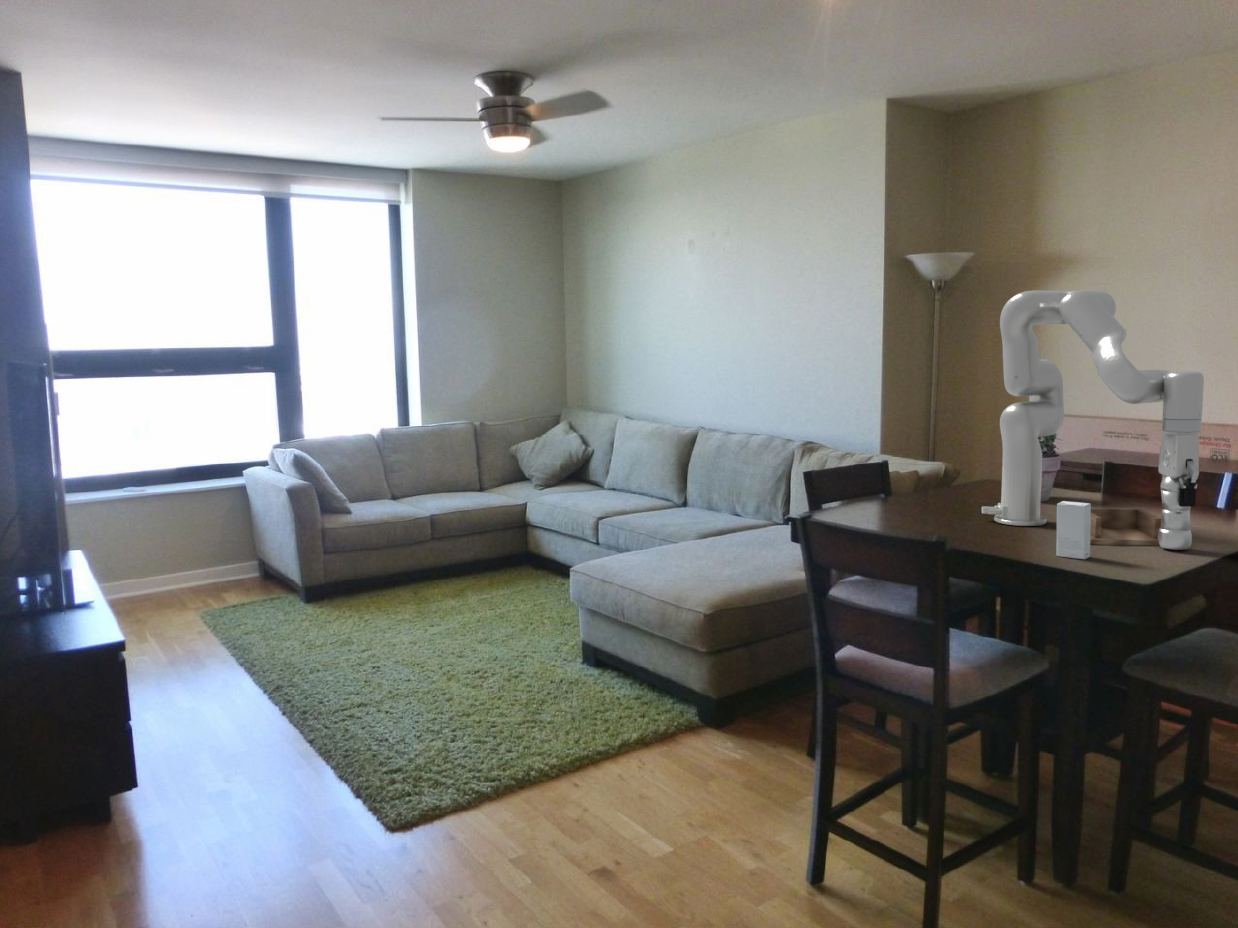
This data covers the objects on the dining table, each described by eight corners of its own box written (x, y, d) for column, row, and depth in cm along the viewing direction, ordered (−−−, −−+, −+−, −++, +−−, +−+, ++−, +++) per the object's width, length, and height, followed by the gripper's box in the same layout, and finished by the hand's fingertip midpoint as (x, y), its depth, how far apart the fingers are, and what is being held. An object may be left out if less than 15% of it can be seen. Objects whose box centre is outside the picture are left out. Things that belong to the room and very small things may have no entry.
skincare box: (1090, 556, 203) (1093, 502, 202) (1084, 560, 200) (1086, 505, 199) (1061, 552, 208) (1063, 499, 206) (1054, 556, 204) (1056, 502, 203)
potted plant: (1042, 507, 262) (1045, 420, 259) (985, 497, 279) (988, 415, 276) (1082, 500, 271) (1086, 416, 268) (1025, 492, 288) (1028, 412, 285)
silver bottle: (1196, 553, 204) (1201, 464, 202) (1162, 552, 206) (1168, 464, 203) (1184, 546, 211) (1190, 460, 208) (1152, 546, 212) (1157, 460, 209)
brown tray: (1087, 544, 215) (1088, 519, 214) (1067, 530, 231) (1068, 506, 230) (1171, 545, 212) (1173, 520, 211) (1145, 531, 228) (1146, 507, 227)
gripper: (1148, 423, 214) (1145, 496, 216) (1179, 430, 197) (1175, 509, 199) (1183, 423, 212) (1180, 496, 214) (1217, 430, 195) (1213, 509, 198)
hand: (1177, 502), depth 207 cm, fingers open, 9 cm apart
